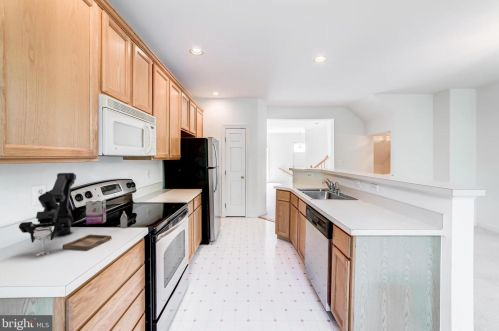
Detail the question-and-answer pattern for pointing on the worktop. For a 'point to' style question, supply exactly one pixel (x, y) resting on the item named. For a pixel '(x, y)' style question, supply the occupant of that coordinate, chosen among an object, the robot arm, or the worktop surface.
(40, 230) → the wineglass
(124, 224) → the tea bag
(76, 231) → the worktop surface
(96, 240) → the tray
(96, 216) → the candy bar box
